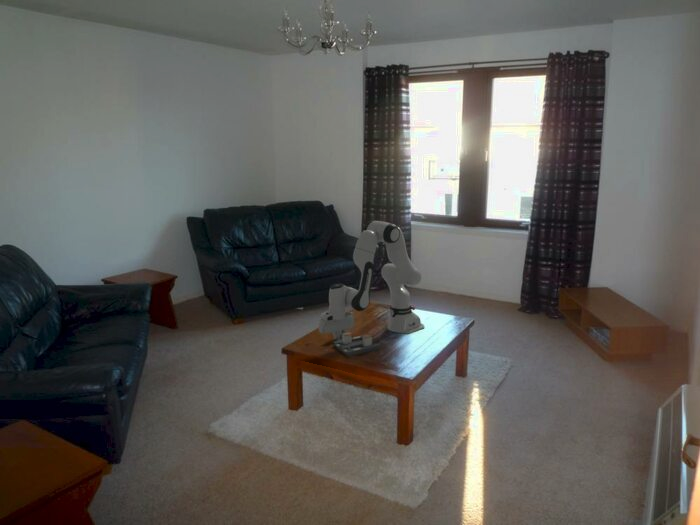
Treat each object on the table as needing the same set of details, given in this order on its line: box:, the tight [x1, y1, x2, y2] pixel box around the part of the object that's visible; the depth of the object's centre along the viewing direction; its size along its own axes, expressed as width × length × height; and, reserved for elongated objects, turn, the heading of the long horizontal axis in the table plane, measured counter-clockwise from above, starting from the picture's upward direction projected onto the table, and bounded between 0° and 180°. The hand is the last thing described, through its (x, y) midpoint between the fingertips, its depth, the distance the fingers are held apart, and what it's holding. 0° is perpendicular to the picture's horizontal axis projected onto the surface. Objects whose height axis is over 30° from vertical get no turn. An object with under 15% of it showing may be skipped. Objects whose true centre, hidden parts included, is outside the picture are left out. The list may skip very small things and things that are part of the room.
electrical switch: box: [332, 329, 348, 342], centre depth 291 cm, size 9×5×9 cm, turn 141°
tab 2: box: [361, 334, 373, 347], centre depth 277 cm, size 4×3×6 cm
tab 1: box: [342, 331, 353, 344], centre depth 280 cm, size 4×3×6 cm
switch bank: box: [333, 335, 382, 357], centre depth 280 cm, size 20×16×3 cm
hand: (336, 338), depth 277 cm, fingers closed
